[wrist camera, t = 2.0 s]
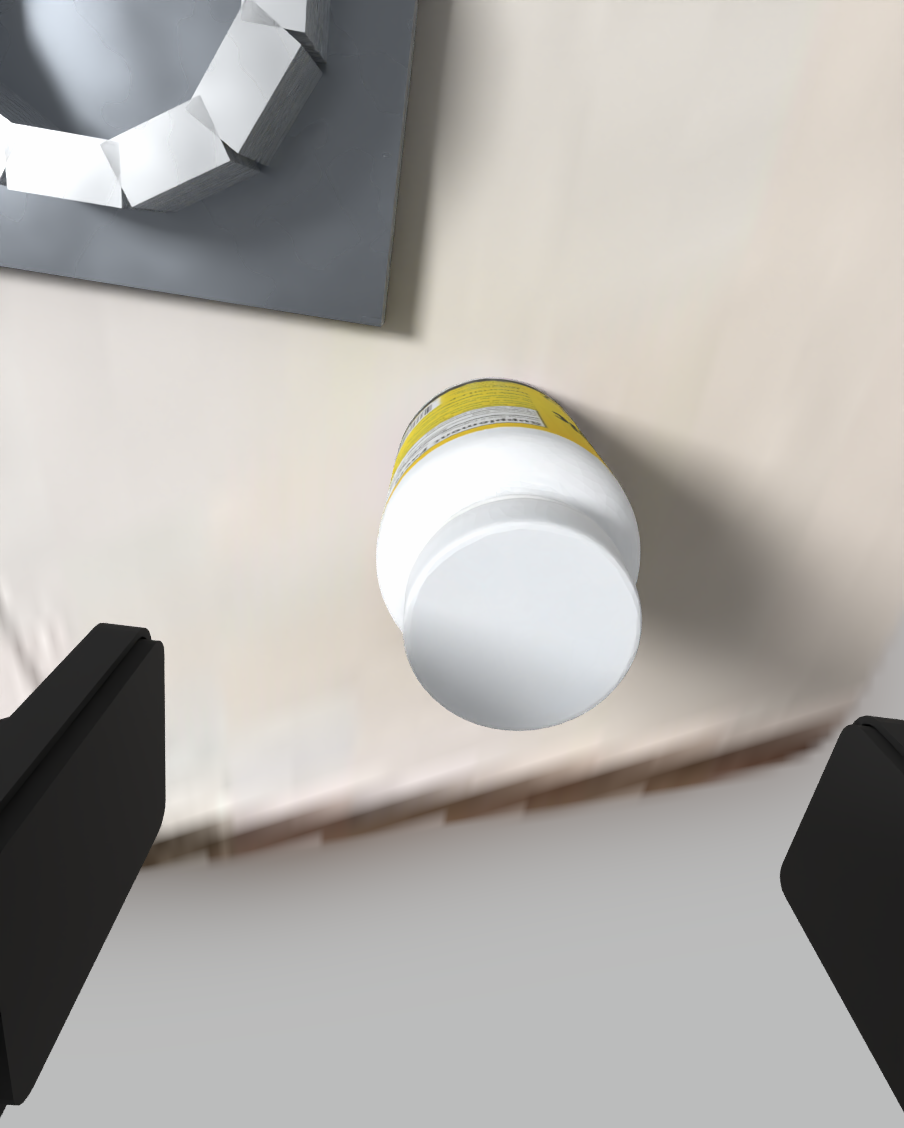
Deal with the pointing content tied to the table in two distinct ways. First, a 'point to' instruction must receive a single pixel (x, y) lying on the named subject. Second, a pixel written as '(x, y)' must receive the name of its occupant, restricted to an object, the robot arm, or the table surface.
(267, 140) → the ring collar block
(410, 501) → the supplement bottle
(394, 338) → the table surface
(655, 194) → the table surface
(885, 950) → the robot arm
